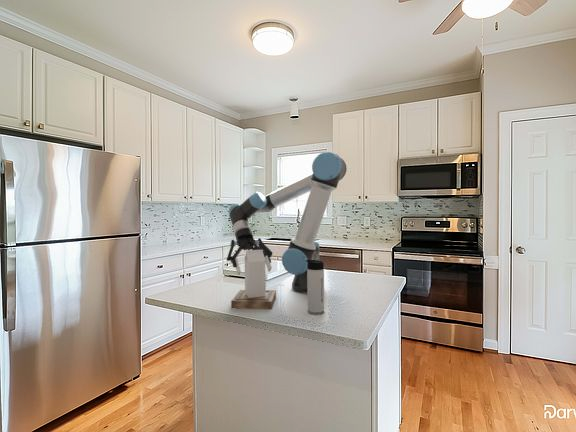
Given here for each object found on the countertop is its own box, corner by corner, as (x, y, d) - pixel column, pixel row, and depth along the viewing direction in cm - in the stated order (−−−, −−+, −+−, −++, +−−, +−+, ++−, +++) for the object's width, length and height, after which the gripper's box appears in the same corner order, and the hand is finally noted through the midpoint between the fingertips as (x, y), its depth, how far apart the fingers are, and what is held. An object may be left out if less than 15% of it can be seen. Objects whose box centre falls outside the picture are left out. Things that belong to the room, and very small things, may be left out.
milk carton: (265, 296, 127) (265, 250, 126) (248, 298, 124) (248, 251, 124) (261, 292, 134) (260, 248, 133) (245, 293, 131) (244, 249, 130)
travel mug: (305, 309, 119) (305, 258, 119) (322, 309, 120) (322, 258, 119) (307, 315, 113) (307, 261, 112) (325, 314, 114) (325, 261, 113)
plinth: (275, 296, 136) (275, 289, 136) (271, 309, 120) (271, 300, 120) (240, 296, 137) (240, 289, 137) (231, 308, 121) (231, 300, 121)
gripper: (266, 236, 149) (279, 273, 136) (214, 239, 137) (223, 279, 124) (270, 226, 144) (284, 263, 131) (217, 228, 132) (227, 269, 120)
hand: (255, 271), depth 128 cm, fingers open, 13 cm apart
